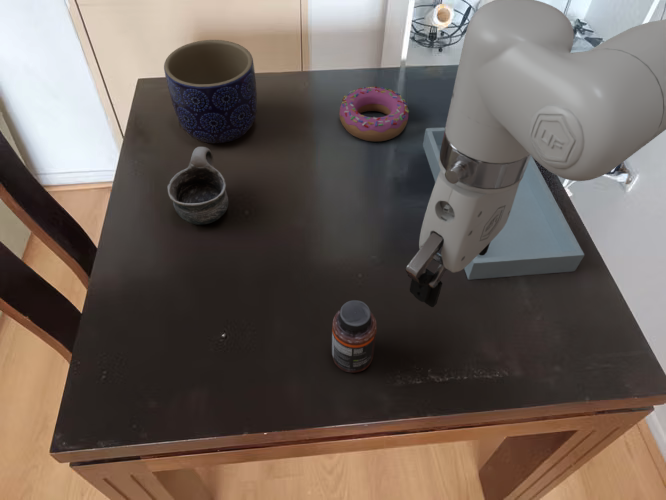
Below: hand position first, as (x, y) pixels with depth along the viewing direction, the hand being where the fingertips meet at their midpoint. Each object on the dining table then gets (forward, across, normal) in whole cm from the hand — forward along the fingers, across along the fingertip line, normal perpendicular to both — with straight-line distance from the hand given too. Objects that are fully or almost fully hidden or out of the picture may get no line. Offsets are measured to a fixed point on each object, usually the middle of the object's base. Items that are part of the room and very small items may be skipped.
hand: (448, 272), depth 60 cm
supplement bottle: (+22, -6, +8) cm, 24 cm away
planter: (+22, +15, +63) cm, 69 cm away
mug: (+22, -2, +47) cm, 52 cm away
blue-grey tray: (+22, +35, +11) cm, 43 cm away
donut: (+22, +38, +41) cm, 60 cm away
